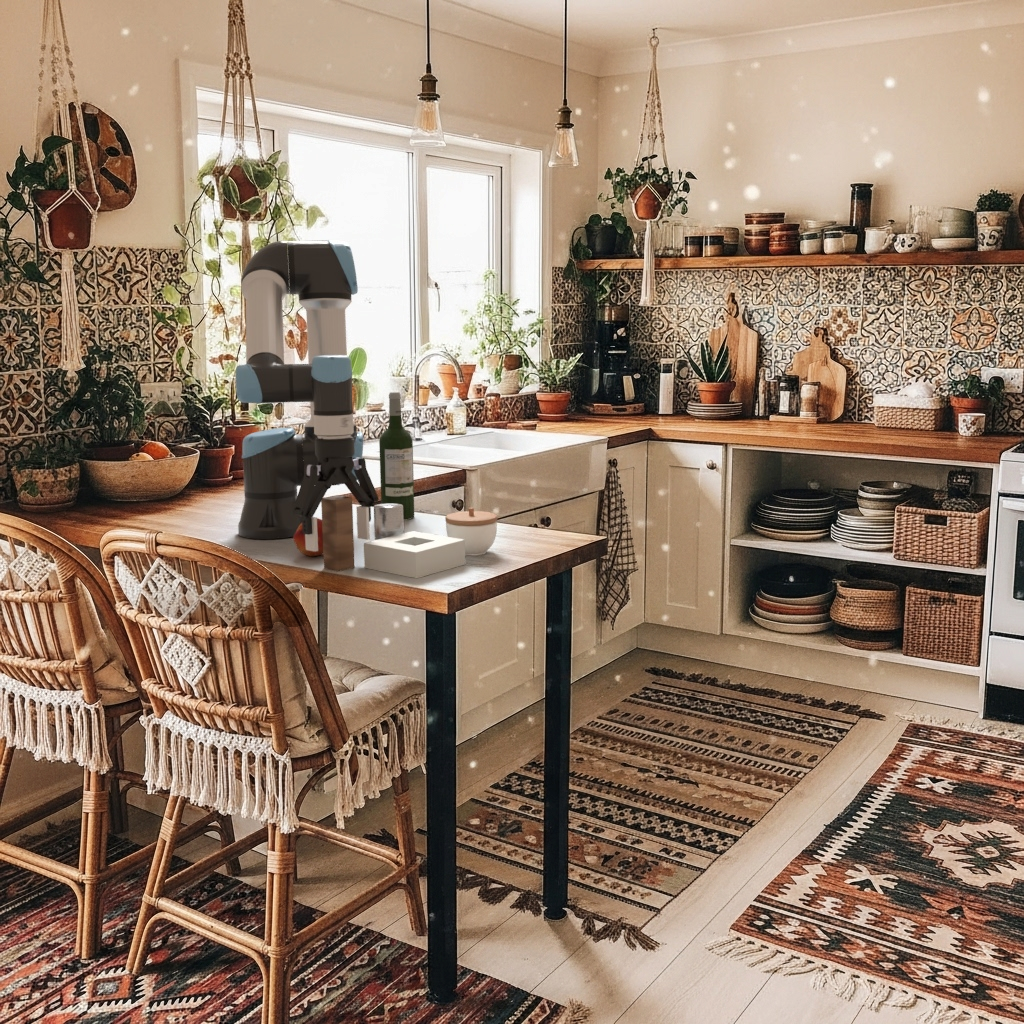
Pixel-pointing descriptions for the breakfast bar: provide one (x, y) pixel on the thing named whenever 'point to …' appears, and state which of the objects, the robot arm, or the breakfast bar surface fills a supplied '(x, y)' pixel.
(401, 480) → the wine bottle
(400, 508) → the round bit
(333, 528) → the square bit
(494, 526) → the lidded jar
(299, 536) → the fruit
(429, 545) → the socket block
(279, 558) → the breakfast bar surface
